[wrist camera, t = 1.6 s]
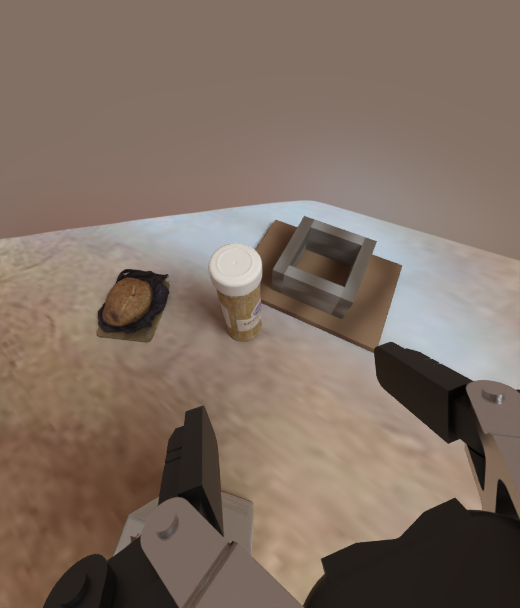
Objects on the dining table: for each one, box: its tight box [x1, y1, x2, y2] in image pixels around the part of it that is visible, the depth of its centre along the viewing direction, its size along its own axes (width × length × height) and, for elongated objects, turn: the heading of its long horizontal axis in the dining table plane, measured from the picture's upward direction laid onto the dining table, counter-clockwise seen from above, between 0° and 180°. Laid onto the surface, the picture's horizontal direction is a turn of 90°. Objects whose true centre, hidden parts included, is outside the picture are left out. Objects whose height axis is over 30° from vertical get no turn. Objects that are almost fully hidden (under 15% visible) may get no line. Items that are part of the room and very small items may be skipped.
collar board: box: [255, 216, 402, 353], centre depth 34 cm, size 20×14×6 cm
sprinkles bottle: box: [209, 244, 262, 341], centre depth 27 cm, size 5×5×14 cm
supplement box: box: [113, 491, 254, 556], centre depth 18 cm, size 7×7×13 cm
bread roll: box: [97, 269, 170, 342], centre depth 33 cm, size 11×8×4 cm
